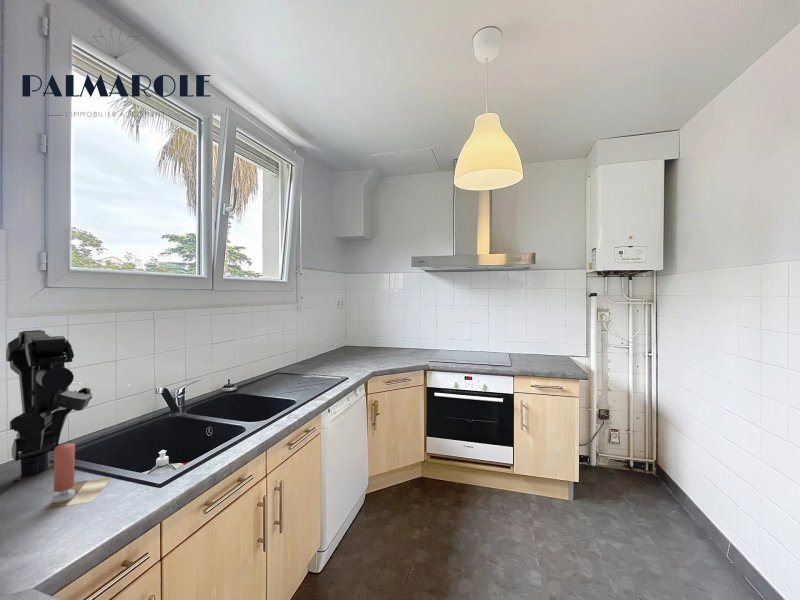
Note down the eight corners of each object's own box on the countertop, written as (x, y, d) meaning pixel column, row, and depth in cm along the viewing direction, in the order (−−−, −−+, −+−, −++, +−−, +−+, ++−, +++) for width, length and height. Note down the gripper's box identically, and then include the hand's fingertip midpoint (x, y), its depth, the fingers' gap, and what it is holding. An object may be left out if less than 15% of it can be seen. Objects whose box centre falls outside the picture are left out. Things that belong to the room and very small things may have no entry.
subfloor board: (69, 487, 92) (69, 483, 92) (111, 481, 95) (111, 476, 95) (44, 514, 81) (44, 509, 81) (93, 505, 84) (93, 500, 84)
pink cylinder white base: (59, 495, 86) (60, 443, 86) (78, 493, 87) (79, 442, 87) (48, 504, 82) (49, 450, 82) (68, 502, 83) (69, 448, 83)
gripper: (70, 390, 84) (70, 453, 84) (101, 373, 101) (101, 425, 101) (8, 395, 80) (8, 461, 80) (51, 377, 97) (51, 431, 97)
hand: (47, 442), depth 90 cm, fingers open, 9 cm apart
